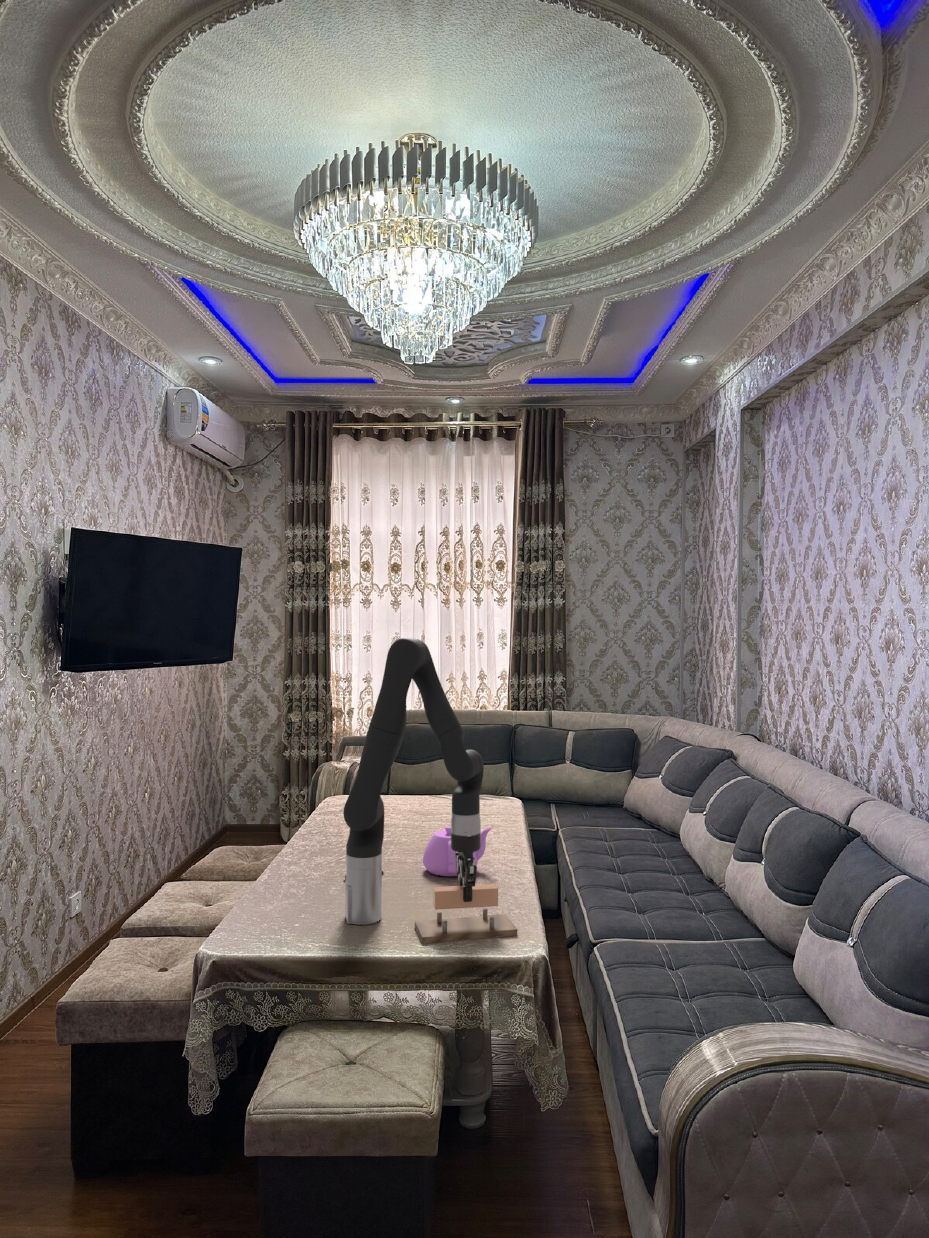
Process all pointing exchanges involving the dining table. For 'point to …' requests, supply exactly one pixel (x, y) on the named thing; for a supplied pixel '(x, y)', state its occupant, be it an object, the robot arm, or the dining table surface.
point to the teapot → (446, 853)
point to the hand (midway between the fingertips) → (465, 898)
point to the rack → (465, 928)
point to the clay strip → (454, 897)
